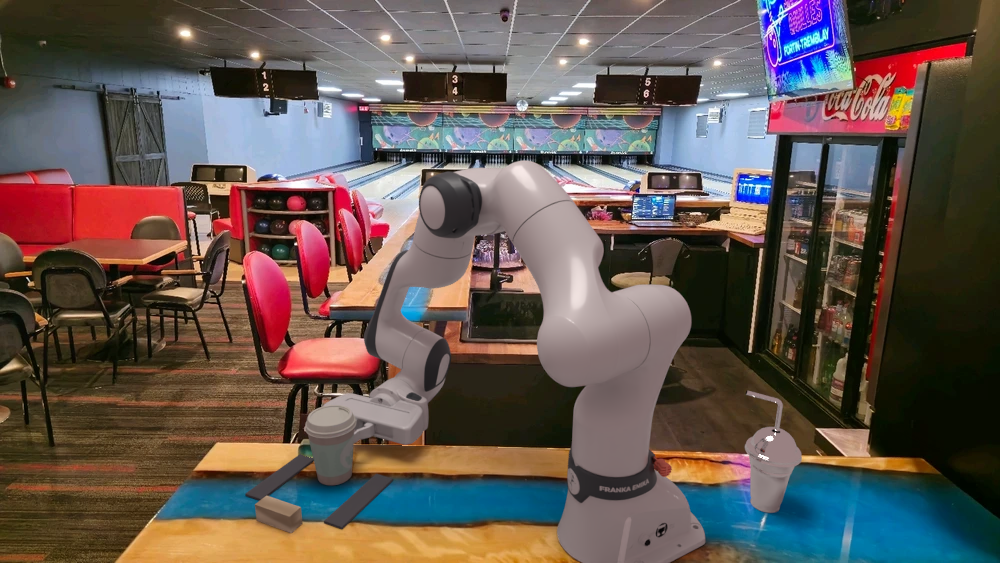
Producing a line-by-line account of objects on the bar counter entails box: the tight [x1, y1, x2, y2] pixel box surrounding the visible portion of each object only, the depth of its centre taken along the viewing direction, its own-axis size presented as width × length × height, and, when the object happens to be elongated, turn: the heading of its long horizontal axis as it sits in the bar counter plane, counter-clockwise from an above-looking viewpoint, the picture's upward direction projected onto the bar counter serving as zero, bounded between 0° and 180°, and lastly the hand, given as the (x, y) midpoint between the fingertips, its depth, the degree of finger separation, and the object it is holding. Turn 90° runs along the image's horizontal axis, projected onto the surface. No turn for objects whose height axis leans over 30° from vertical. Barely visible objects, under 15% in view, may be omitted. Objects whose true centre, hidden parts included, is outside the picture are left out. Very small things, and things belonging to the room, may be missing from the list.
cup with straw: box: [744, 390, 803, 514], centre depth 100 cm, size 8×9×20 cm
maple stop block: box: [254, 495, 303, 534], centre depth 97 cm, size 2×7×3 cm, turn 65°
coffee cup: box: [304, 405, 356, 486], centre depth 108 cm, size 8×8×12 cm
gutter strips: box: [245, 453, 394, 530], centre depth 106 cm, size 14×20×1 cm
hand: (346, 438), depth 111 cm, fingers closed, pressing on coffee cup
